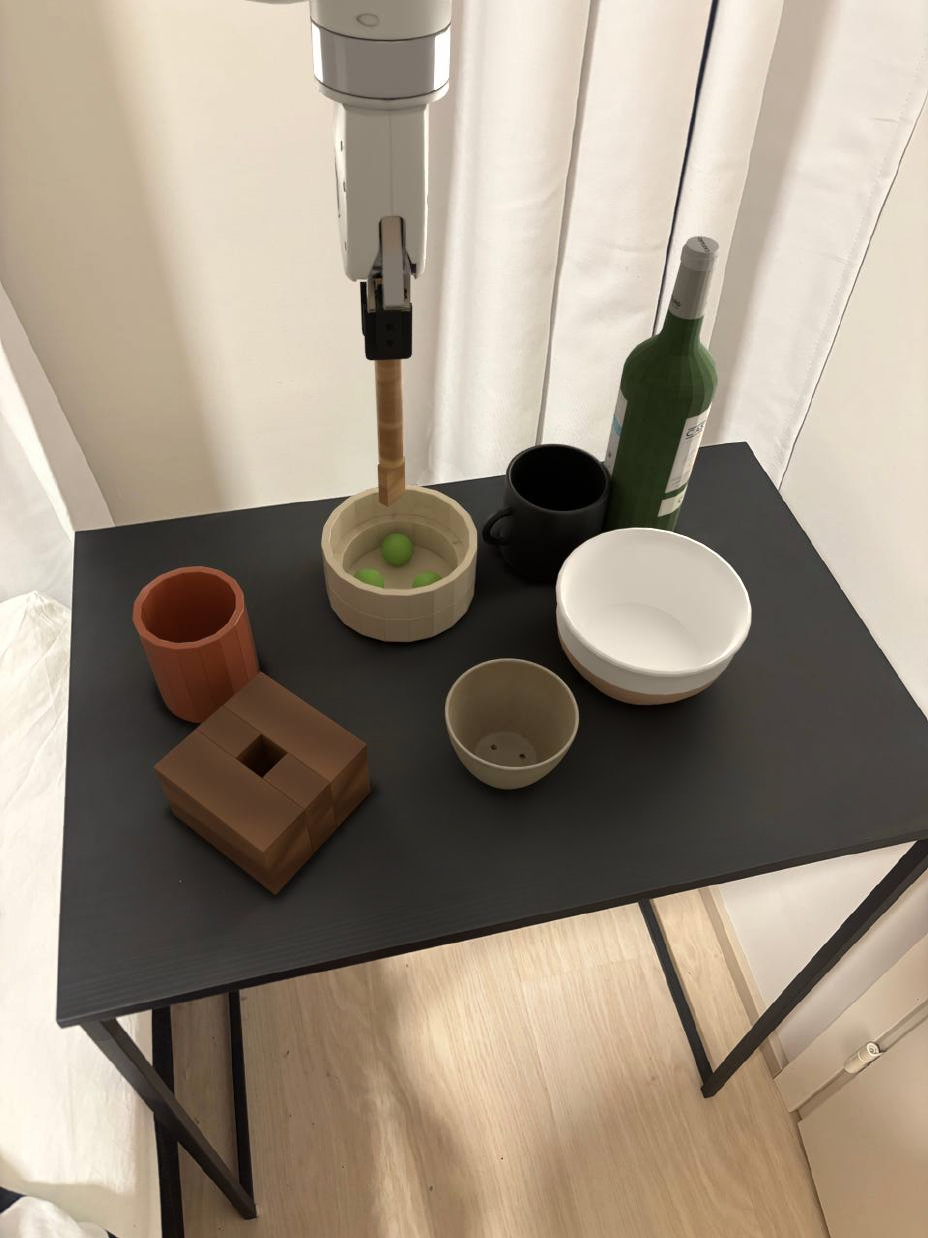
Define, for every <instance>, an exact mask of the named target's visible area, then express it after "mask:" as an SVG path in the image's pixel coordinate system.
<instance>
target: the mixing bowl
mask: <svg viewBox="0 0 928 1238" xmlns="http://www.w3.org/2000/svg"><path fill="white" fill-rule="evenodd" d="M393 533H401V534H404V535H406V536H407V537H408V538H409V539H410V540H411V542H412V544H413V555H412V557H411V559H410V560H409V561H408V562H407V563H405V564H403V565H392V564H390V563H388V562H387V561H386V560H385V559H384V558H383V556H382V553H381V545H382V542H383V541H384V539H385V538H386V537H387V536H389V535H390V534H393ZM320 546H321V547H320V548H321V554H322V555H321V556H322V564H323V572H324V581H325V589H326V594H327V597H328V600H329V601H328V602H329V605H330V608H331V609H332V610H333V611H334V613H335V614H336V616H337V617H338V618H339V619H340V620H341V622H342V623H343V624H344V625H346V626H347V627H349V628H351V629H352V630H354V631H355V632H357V633H359V634H360V635H362V636H364V637H369V638H372V639H376V640H378V641H383V642H396V643H412V642H415V641H420V640H425V639H429V638H432V637H435V636H438V635H439V634H441V633H442V632H444V631H446V630H448V629H450V628H452V627H453V626H454V625H455V624H456V623H458V621H459V620H460V619H461V618H462V617H463V616H464V615H465V614H466V613H467V612H468V610H469V607H470V605H471V603H472V601H473V598H474V597H475V584H476V569H477V558H478V557H477V555H478V529H477V528H476V526H475V523H474V521H473V519H472V516H471V515H470V514H469V512H468V511H466V509H464V508H463V507H462V505H461V504H459V502H457V501H456V500H454V499H453V498H451V497H449V496H448V495H446V494H444V493H442V492H440V491H437V490H435V489H431V488H428V487H422V486H420V485H414V484H405V494H404V495H403V496H402V497H401V498H399V499H398V500H397V501H395V502H394V503H393V504H392V505H390V506H389V507H386V506H385V505H383V504H381V503H380V502H379V489H378V486H376V487H371V488H367V489H365V490H363V491H361V492H359V493H355V494H354V495H351V496H349V497H348V498H347V499H345V500H344V501H342V502H341V503H340V504H339V505H338V506H337V507H335V508H334V510H333V511H331V514H330V515H329V517H328V518H327V520H326V522H325V524H324V525H323V529H322V535H321V541H320ZM364 568H370V569H374V570H376V571H377V572H379V573H380V574H381V576H382V577H383V580H384V589H383V588H380V587H376V586H373V585H369V584H365V583H363V582H361V581H359V580H358V579H356V578H354V577H353V576H354V574H355V573H356V572H357V571H359V570H361V569H364ZM423 572H434V573H437V574H438V575H440V576H441V577H442V579H441V580H439V581H437V582H435V583H433V584H431V585H428V586H423V587H418V588H414V589H412V584H413V581H414V579H415V578H416V577H417V576H418V575H419V574H421V573H423Z"/></svg>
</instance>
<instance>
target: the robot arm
mask: <svg viewBox="0 0 928 1238" xmlns="http://www.w3.org/2000/svg"><path fill="white" fill-rule="evenodd" d="M245 1H248V2H253V3H261V4H267V5H292V4H298V3H305V2H308V7H309V8H308V9H309V20H310V21H309V22H310V39H311V53H312V64H313V65H312V66H313V79H314V80H313V81H314V85H315V88H316V90H317V91H318V92H320V93H321V94H322V95H323V96H324V97H325V98H327V99H330V100H331V101H332V119H333V120H332V124H333V125H332V127H333V150H334V169H335V170H334V171H335V188H336V208H337V209H336V210H337V212H336V213H337V224H338V225H337V226H338V233H339V242H340V250H341V257H342V258H341V259H342V263H343V270H344V274H345V276H346V277H347V279H349V280H350V281H351V282H353V283H356V282H357V280H359V294H360V295H359V297H360V318H361V319H360V321H361V333H362V336H363V337H364V340H363V341H364V354H365V358H366V359H367V360H368V361H374V360H394V359H402V360H407V359H408V360H409V359H410V358H411V357H412V355H413V303H412V301H411V279H412V278H411V276H413V278H414V280H418V279H419V278H420V277H421V276H422V275H423V274H424V273H425V270H426V269H425V268H426V260H427V259H426V258H427V238H428V215H429V213H428V212H429V210H428V208H429V158H430V156H429V155H430V154H429V153H430V151H429V150H430V104H433V103H434V102H436V101H439V100H440V99H442V98H443V97H444V96H445V95H447V92H449V89H450V71H451V68H450V67H451V43H452V42H451V39H452V38H451V37H452V10H453V9H452V7H453V4H452V3H453V0H245ZM381 278H382V284H377V287H376V279H381ZM361 280H363V281H361ZM364 280H365V281H364Z"/></svg>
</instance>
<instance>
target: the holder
mask: <svg viewBox="0 0 928 1238" xmlns="http://www.w3.org/2000/svg"><path fill="white" fill-rule="evenodd" d="M368 757H369V755H368V745H367V743H366V742H364V741H362V740H361V739H360V738H358V737H357V736H355V735H354V734H352V733H351V732H349V730H347V729H345V728H344V727H342V726H341V725H339V724H338V723H336V722H335V721H333V720H332V719H331V718H329V717H328V716H327V715H325V714H323V713H322V712H321V711H319V710H318V709H316V708H315V707H313V706H312V705H310V704H309V703H307V702H306V701H304V700H303V699H301V697H299V696H297V695H296V694H294V693H293V692H291V691H290V690H288V689H287V688H286V687H284V686H283V685H281V684H280V683H278V682H277V681H275V680H274V679H272V678H271V677H270V676H268V675H266V674H265V673H264V672H262V671H260V672H259V673H258V674H257V675H256V676H255V677H254V678H253V679H252V680H251V681H249V682H248V683H247V684H246V685H245V686H244V687H243V688H242V689H240V690H239V691H238V692H237V693H236V694H235V695H234V696H233V697H231V698H230V699H229V700H228V701H227V702H226V703H225V704H224V705H223V706H221V707H220V708H219V709H218V710H217V711H216V712H214V713H213V714H212V715H211V716H210V717H209V718H208V719H207V720H205V721H204V722H203V723H200V724H199V725H198V726H197V727H196V729H194V730H193V731H192V732H191V733H189V735H187V736H186V737H185V738H184V739H182V741H181V742H179V744H178V745H176V746H175V747H174V748H173V749H172V750H170V751H169V753H168V754H166V755H165V756H164V757H163V758H162V759H160V760H159V761H158V762H157V763H156V764H155V765H154V766H153V769H154V771H155V774H156V777H157V780H158V781H159V784H160V785H161V788H162V790H163V793H164V795H165V797H166V799H167V801H168V804H169V806H170V808H171V811H172V813H173V815H174V816H175V817H177V818H178V819H179V820H180V821H182V822H183V823H184V824H185V825H187V826H188V827H189V828H190V829H191V830H193V831H194V832H195V833H197V834H198V835H199V836H200V837H202V838H203V839H204V840H205V841H207V842H208V843H209V844H210V845H211V846H212V847H214V848H216V850H218V851H219V852H220V853H222V854H223V855H224V856H225V857H227V859H229V860H231V861H232V863H234V864H235V865H237V866H238V867H239V868H240V869H242V870H243V871H244V872H245V873H246V874H248V875H249V876H250V877H252V878H253V879H254V880H255V881H257V882H258V883H259V884H261V885H262V886H263V887H264V888H266V890H268V891H269V892H270V893H272V894H273V895H274V896H276V895H278V893H280V891H281V890H282V889H283V888H284V887H285V886H286V884H287V883H289V881H290V880H291V879H292V878H293V877H294V876H295V875H296V874H297V873H298V871H299V870H301V868H303V866H304V865H305V864H306V863H307V862H308V861H309V859H310V858H311V857H312V856H313V855H314V854H316V852H317V851H318V850H319V849H320V847H321V846H322V845H323V844H324V843H325V842H326V841H327V840H328V839H329V838H330V837H331V836H332V835H333V833H335V832H336V830H337V828H339V827H340V826H341V825H342V823H343V822H344V821H345V820H346V819H347V818H348V817H349V816H350V815H351V814H352V813H353V811H354V810H355V809H356V808H357V807H358V806H359V805H360V804H361V803H362V801H363V800H365V798H366V797H367V796H368V795H369V794H370V793H371V782H370V768H369V758H368Z"/></svg>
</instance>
